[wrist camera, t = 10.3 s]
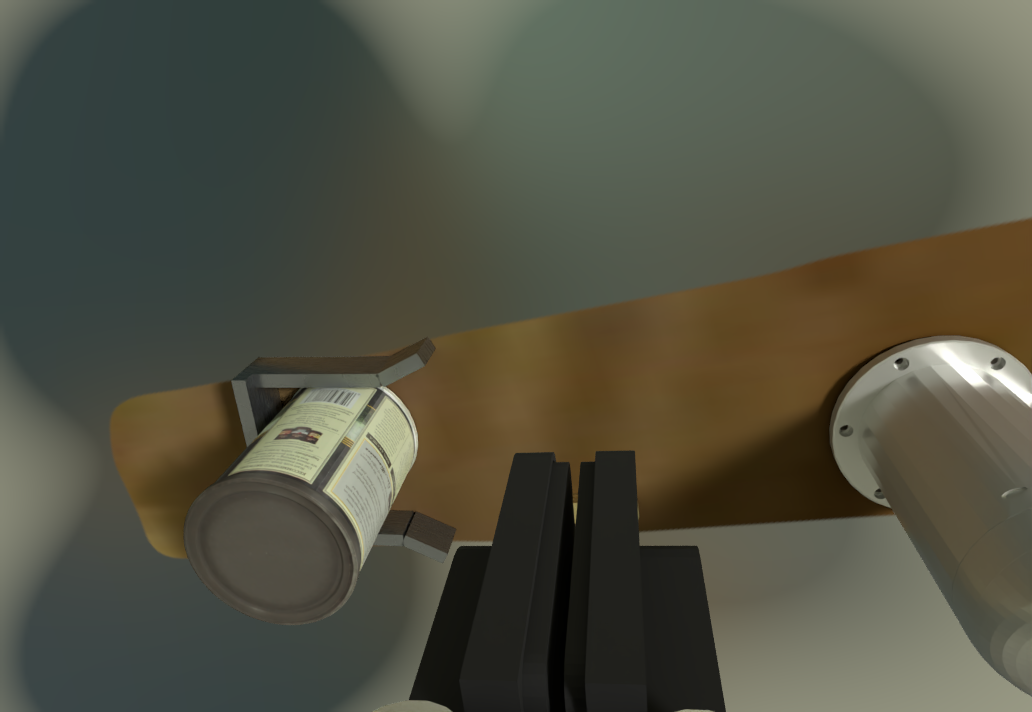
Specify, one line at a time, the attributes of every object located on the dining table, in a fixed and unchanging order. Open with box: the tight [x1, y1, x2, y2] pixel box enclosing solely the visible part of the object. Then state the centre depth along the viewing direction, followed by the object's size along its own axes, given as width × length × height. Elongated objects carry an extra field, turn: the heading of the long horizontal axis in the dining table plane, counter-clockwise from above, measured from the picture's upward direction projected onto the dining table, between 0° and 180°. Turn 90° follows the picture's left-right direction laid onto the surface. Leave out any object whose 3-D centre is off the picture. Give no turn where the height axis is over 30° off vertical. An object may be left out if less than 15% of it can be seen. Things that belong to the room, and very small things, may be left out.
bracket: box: [231, 337, 456, 563], centre depth 52 cm, size 13×17×4 cm
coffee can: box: [184, 386, 418, 625], centre depth 47 cm, size 10×10×14 cm
